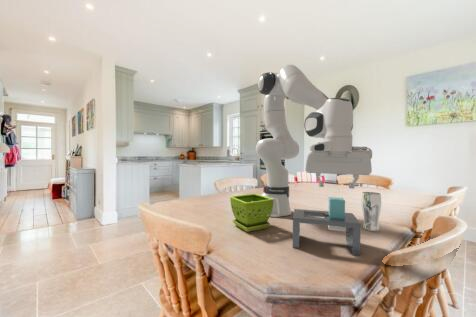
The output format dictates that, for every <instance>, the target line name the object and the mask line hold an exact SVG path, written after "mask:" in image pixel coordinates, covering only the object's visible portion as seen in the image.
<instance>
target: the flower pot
mask: <svg viewBox="0 0 476 317" xmlns="http://www.w3.org/2000/svg"><path fill="white" fill-rule="evenodd" d="M229 201H230V207H231V212H232V214H233V216H234V219H232V223H234V225H235V226H236V227H238V228H240V229H242V230H243V231H245V232H246V233H249V232H253V231H259V230H265V229H267V228H269V226H271V223H270V222H269V219H270V218H271V217H270V215H271V212H272V208H273V199H271V198H268V197H265V196H262V195H261V194H260V193H259V194H257V193H249V194H247V193H246V194H239V195H238V194H237V195H232V196H230V197H229Z"/></svg>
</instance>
